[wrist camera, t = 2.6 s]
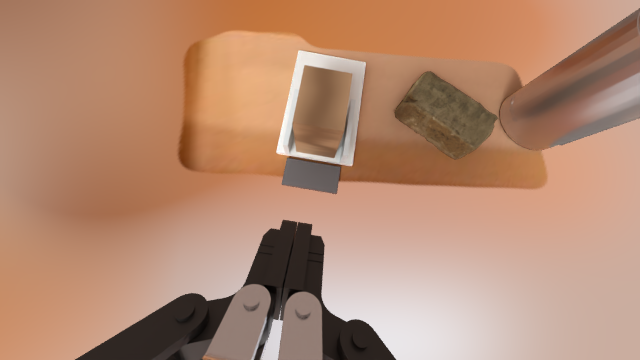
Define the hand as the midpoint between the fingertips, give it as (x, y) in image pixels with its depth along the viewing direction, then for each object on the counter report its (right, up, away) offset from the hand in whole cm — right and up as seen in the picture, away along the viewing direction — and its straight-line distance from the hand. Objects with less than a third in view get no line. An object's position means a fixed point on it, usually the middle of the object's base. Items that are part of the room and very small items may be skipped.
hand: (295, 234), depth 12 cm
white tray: (+1, +11, +19) cm, 23 cm away
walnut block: (+1, +9, +18) cm, 21 cm away
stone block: (+17, +10, +21) cm, 29 cm away
